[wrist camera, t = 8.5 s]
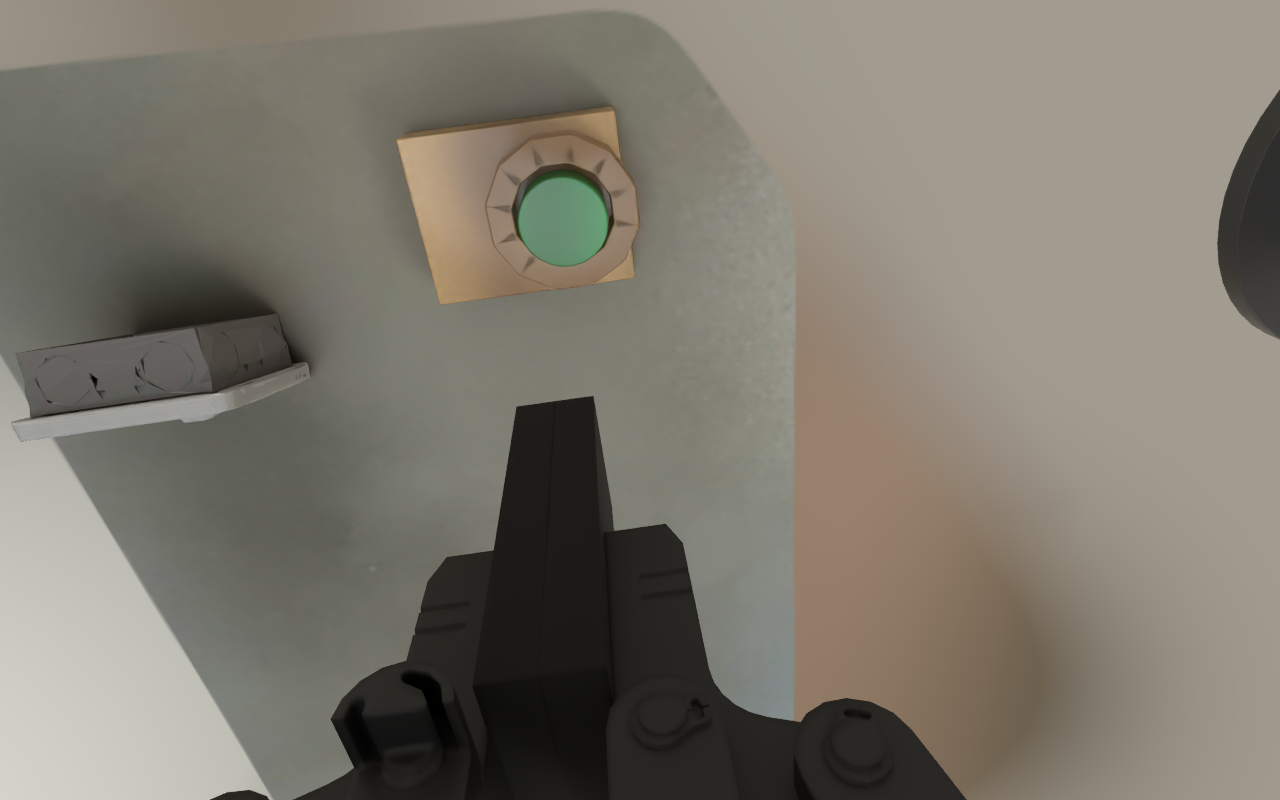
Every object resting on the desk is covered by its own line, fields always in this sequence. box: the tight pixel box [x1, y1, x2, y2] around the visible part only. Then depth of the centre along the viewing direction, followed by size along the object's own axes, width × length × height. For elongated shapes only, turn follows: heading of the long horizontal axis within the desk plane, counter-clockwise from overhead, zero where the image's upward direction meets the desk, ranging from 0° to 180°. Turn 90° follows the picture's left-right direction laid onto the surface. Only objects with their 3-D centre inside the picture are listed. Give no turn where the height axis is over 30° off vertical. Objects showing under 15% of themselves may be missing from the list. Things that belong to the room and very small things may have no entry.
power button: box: [518, 170, 609, 267], centre depth 32 cm, size 4×4×2 cm
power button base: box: [396, 106, 640, 305], centre depth 34 cm, size 10×8×4 cm
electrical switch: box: [11, 314, 310, 442], centre depth 34 cm, size 9×5×9 cm, turn 97°
